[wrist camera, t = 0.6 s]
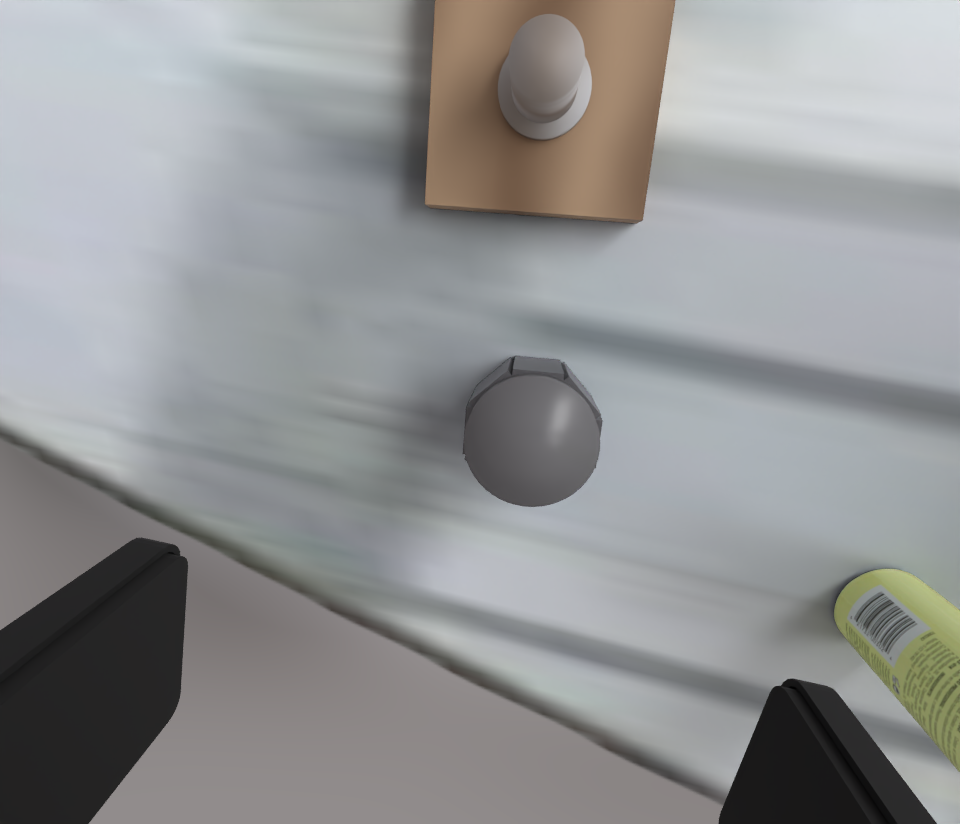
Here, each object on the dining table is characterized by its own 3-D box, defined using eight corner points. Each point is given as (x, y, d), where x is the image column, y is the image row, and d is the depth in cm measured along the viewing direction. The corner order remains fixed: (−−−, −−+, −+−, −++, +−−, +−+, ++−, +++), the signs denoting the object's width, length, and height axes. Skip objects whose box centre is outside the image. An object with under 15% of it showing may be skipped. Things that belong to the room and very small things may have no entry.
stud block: (672, -21, 23) (710, -102, 18) (636, 223, 25) (661, 211, 21) (443, -31, 24) (420, -111, 19) (430, 207, 26) (407, 192, 21)
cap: (597, 363, 27) (611, 382, 23) (582, 475, 29) (592, 516, 24) (478, 352, 28) (467, 368, 23) (469, 463, 29) (457, 500, 25)
